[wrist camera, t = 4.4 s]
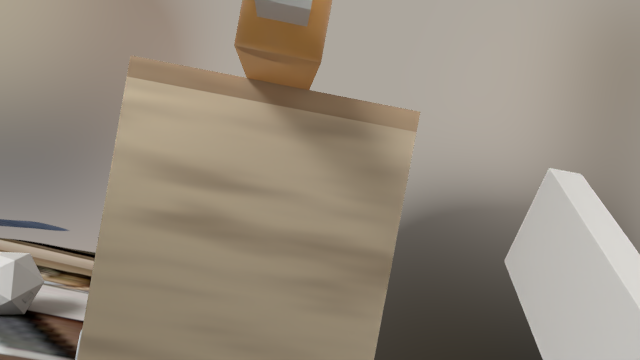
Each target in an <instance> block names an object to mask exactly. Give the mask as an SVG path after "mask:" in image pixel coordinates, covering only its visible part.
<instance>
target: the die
mask: <svg viewBox="0 0 640 360" xmlns="http://www.w3.org/2000/svg"><path fill="white" fill-rule="evenodd" d="M43 283H44V280H43V278H42V276H41V274H40V272H39V270H38V268H37V266H36V264H35V262H34V260H33V258H32V256H31V254H30V253H13V252H0V315H8V314H25V312H26V311H27V309H28V308H29V306H30V304H31V303H32V301H33V299H34V298H35V296H36V295H37V293H38V291H39V290H40V288H41V286H42V285H43Z"/></svg>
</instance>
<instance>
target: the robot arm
mask: <svg viewBox="0 0 640 360" xmlns="http://www.w3.org/2000/svg"><path fill="white" fill-rule="evenodd" d="M504 262H505V264H506V267H507V269H508V272H509V274H510V277H511V279H512V282H513V285H514V287H515V289H516V292H517V295H518V297H519V300H520V302H521V305H522V308H523V310H524V312H525V315H526V318H527V320H528V323H529V325H530V328H531V330H532V333H533V336H534V338H535V341H536V343H537V346H538V348H539V351H540V353H541V356H542V358H543V360H640V254H639V253H638V252H637V250H636V249H635V247H634V246H633V245H632V243H631V242H630V241H629V239H628V238H627V236H626V235H625V234H624V232H623V231H622V229H621V228H620V227H619V225H618V224H617V223H616V221H615V220H614V219H613V217H612V216H611V214H610V213H609V212H608V210H607V209H606V207H605V206H604V205H603V203H602V202H601V201H600V199H599V198H598V196H597V195H596V194H595V192H594V191H593V190H592V188H591V187H590V186H589V184H588V183H587V182H586V180H585V179H584V177H583V176H582V175H581V174H578V173H573V172H568V171H562V170H557V169H552V168H549V169H548V171H547V174H546V175H545V178H544V180H543V182H542V184H541V186H540V188H539V190H538V192H537V194H536V196H535V198H534V201H533V202H532V204H531V207H530V209H529V211H528V213H527V215H526V217H525V219H524V221H523V223H522V225H521V227H520V229H519V231H518V234H517V236H516V238H515V240H514V242H513V244H512V246H511V248H510V250H509V252H508V254H507V256H506V258H505V261H504Z"/></svg>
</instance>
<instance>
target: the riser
mask: <svg viewBox="0 0 640 360" xmlns="http://www.w3.org/2000/svg"><path fill="white" fill-rule="evenodd" d="M419 115H420V112H418V111H413V110H408V109H402V108H398V107H392V106H388V105H382V104H377V103H372V102H367V101H362V100H357V99H351V98H347V97H341V96H336V95H331V94H326V93H321V92H316V91H311V90H306V89H300V88H295V87H290V86H285V85H280V84H275V83H270V82H265V81H259V80H254V79H249V78H244V77H239V76H234V75H229V74H223V73H218V72H213V71H208V70H203V69H198V68H192V67H188V66H183V65H177V64H172V63H167V62H162V61H157V60H152V59H147V58H141V57H136V56H130V62H129V68H128V73H127V79H126V84H125V90H124V96H123V102H122V107H121V113H120V119H119V125H118V130H117V136H116V141H115V147H114V153H113V158H112V164H111V170H110V175H109V182H108V187H107V192H106V198H105V204H104V210H103V215H102V221H101V227H100V232H99V238H98V244H97V249H96V255H95V261H94V266H93V272H92V278H91V283H90V289H89V295H88V300H87V306H86V312H85V317H84V323H83V329H82V334H81V340H80V346H79V352H78V357H77V360H374V356H375V350H376V345H377V340H378V334H379V329H380V323H381V318H382V313H383V308H384V302H385V297H386V291H387V286H388V280H389V276H390V270H391V265H392V260H393V254H394V249H395V244H396V238H397V233H398V228H399V222H400V217H401V212H402V206H403V201H404V195H405V190H406V185H407V180H408V174H409V169H410V163H411V158H412V153H413V148H414V142H415V136H416V132H417V126H418V121H419Z"/></svg>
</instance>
